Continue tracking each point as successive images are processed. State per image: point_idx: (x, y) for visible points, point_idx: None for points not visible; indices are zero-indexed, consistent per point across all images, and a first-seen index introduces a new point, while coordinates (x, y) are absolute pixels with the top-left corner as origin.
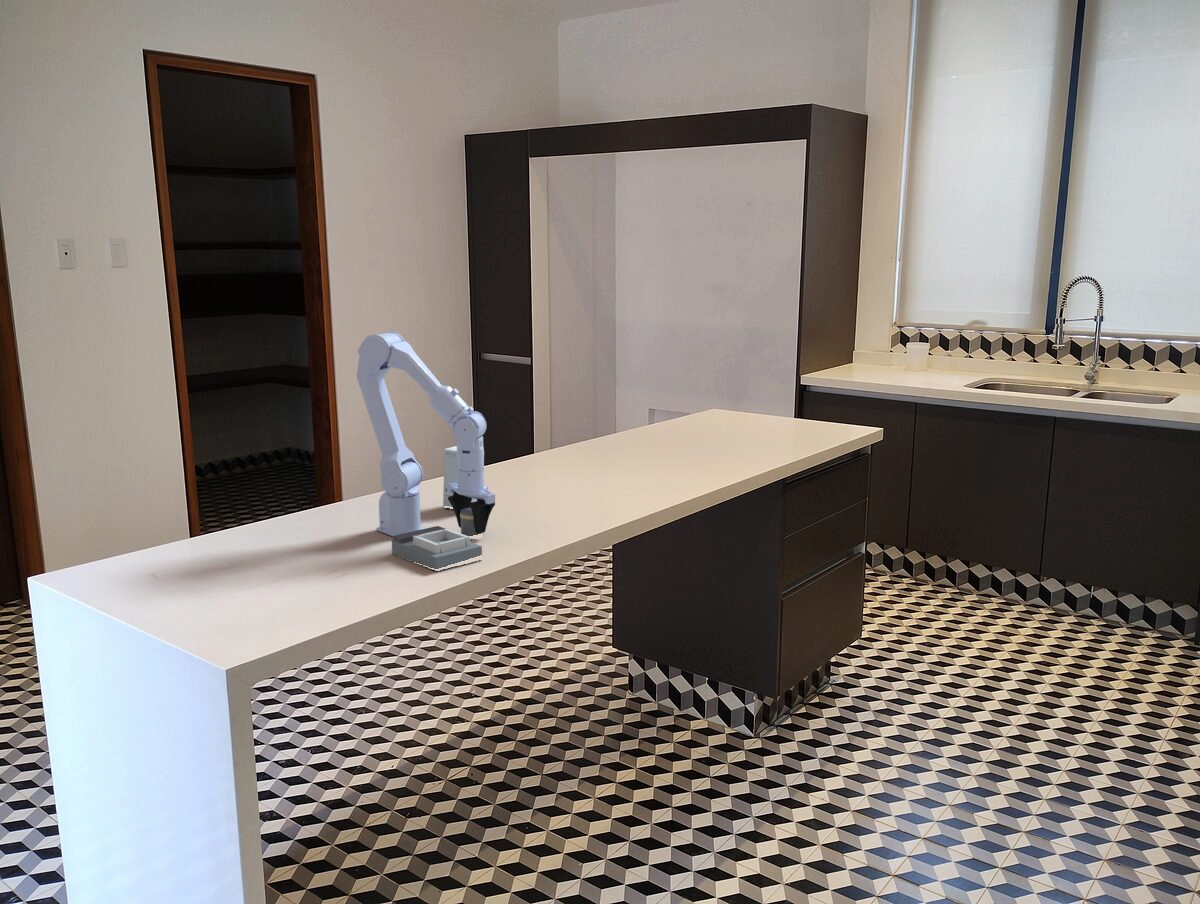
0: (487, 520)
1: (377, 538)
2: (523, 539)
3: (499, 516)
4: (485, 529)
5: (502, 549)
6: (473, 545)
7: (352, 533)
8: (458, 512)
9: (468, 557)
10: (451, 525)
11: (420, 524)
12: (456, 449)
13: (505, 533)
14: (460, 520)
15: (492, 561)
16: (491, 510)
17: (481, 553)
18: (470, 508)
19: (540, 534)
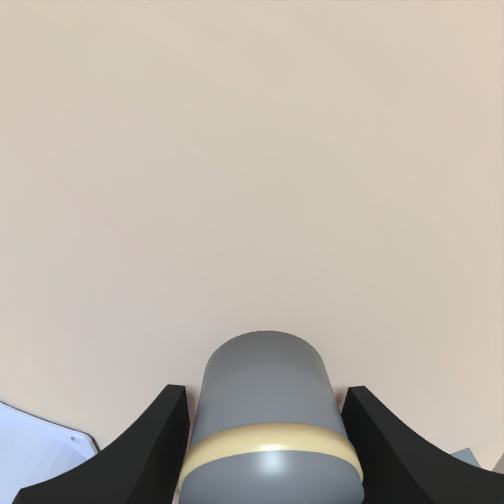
0: (405, 427)
1: None
2: (491, 217)
3: (46, 21)
4: (373, 395)
5: (483, 369)
6: None
7: None
8: (169, 502)
9: None
10: (28, 316)
11: (60, 456)
12: None
13: (360, 203)
14: (181, 456)
15: (492, 429)
16: (466, 464)
17: (476, 462)
18: (212, 500)
19: (487, 93)
